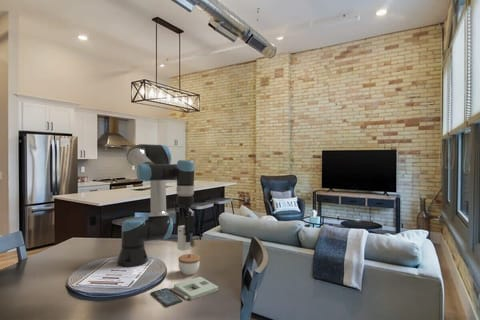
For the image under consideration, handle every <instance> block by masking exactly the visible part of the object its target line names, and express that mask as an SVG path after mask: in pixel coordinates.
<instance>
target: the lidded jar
mask: <svg viewBox="0 0 480 320" xmlns="http://www.w3.org/2000/svg"><path fill="white" fill-rule="evenodd" d="M177 260H178V268H179V271H180V272H181V273H182V274H183V275H184V276H193V275H195V274H196V272H198V270H199V268H200V266H201V265H200V264H201V256H200V255H198V254H195V253H188V254H187V253H186V254H181V255H179V257H178V259H177Z"/></svg>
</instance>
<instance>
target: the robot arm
mask: <svg viewBox="0 0 480 320" xmlns="http://www.w3.org/2000/svg"><path fill="white" fill-rule="evenodd" d="M126 160H127V161H128V163H130V165H132V166H134V167H135V168H136V177H137V180H138V181H141V182H142V181H144V182H149V183H150V184H149V186H150V191H149V192H150V194H149V195H150V213H149V214H148V215H147V218H145V216H136V217H135V216H134V217H130V218H127V219H125V220H124V221H123V222H122V225H121V246H120V247H121V248H120V251H119V254H118V257H117V265H118V266H120V267H127V268H128V267H139V266H142V265H144V264H146V263H147V262H148V255H147V252H146V248H145V242H150V241H152V242H153V241H160V240H161V241H162V240H165V239H169V238H170V237H172V236H171V235H172V234H173V233H172V232H173V229H174V222H173V221H174V220H173V218H172V217H170V213H168V212H167V190H166V189H167V187H166V186H167V185H166V183H167V181H176V188H175V190H176V200H175V202H176V204H177V205H178V207H175V208H174V212H175V230H177V232H178V226H182V225H184V227H185V234H184V251H188V250H190V249H191V235H192V234H194V230H195V215H196V211H195V210H192V205H194V198H195V197H194V195H195V162H194V160H182V159H181V160H178V161H177V163H173V164H172V163H171V162H172V153H171V150H170V148H169V146H167V145H163V144H145V143H140V144H136V145H133V146H132V147H130V149H128V151H127V153H126ZM187 249H188V250H187Z"/></svg>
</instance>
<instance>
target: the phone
mask: <svg viewBox="0 0 480 320" xmlns="http://www.w3.org/2000/svg"><path fill="white" fill-rule="evenodd" d="M167 288H168V287H164V288H161V289H158V290H154V291H153V290H152V291H151V292H150V295H151V296H153V297H154V298H155V299H156V300H157V301H158V302H160V303H161V304H162V305H163V306H164V307H165V308H169V307H172V306H175V305H177V304H180V303H181V304H182V303H183V299H181V298H180V297H179V296H177V294H176V293H174V292H172V291H169V290H168V289H167Z"/></svg>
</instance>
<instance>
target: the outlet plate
mask: <svg viewBox="0 0 480 320" xmlns="http://www.w3.org/2000/svg"><path fill="white" fill-rule="evenodd" d="M173 288H174V290H176V291H178V292H179V293H181V294H183V295H185V296H188V297H189V300H191V301H193V300H196V299H199V298H201V297H204V296H207V295H209V294H212V293H215V292H217V291H219V286H218V285H216V284H214V283H213V282H211V281H210V280H207V279H206V278H204V277H202V276H198V277H194V278H191V279H187V280H184V281H182V282H181V281H180V282H177V283H174V284H173ZM190 288H194V289H193V290H188V289H190Z"/></svg>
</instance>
